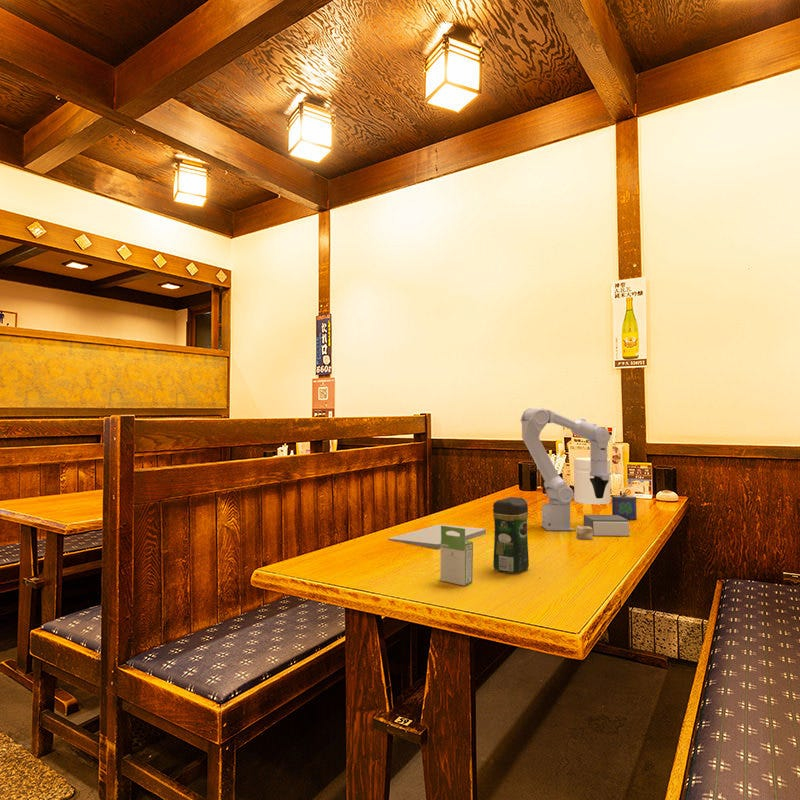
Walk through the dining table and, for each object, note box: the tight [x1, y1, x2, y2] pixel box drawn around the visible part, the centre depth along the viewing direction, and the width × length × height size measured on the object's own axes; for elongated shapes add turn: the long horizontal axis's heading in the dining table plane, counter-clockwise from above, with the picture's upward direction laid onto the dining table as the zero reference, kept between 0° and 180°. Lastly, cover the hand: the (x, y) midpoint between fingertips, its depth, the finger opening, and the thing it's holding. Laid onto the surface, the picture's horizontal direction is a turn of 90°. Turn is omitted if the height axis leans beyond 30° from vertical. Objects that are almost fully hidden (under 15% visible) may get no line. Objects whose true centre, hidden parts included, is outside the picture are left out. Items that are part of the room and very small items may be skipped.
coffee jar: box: [492, 496, 530, 574], centre depth 141 cm, size 10×8×19 cm
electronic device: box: [388, 524, 487, 550], centre depth 179 cm, size 29×20×2 cm
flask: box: [611, 491, 638, 521], centre depth 210 cm, size 9×3×11 cm, turn 88°
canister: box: [573, 457, 612, 506], centre depth 253 cm, size 16×16×20 cm
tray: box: [593, 521, 630, 537], centre depth 185 cm, size 12×9×4 cm
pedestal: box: [576, 525, 594, 541], centre depth 177 cm, size 4×4×4 cm
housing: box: [583, 514, 629, 529], centre depth 186 cm, size 12×9×5 cm
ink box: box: [439, 525, 474, 587], centre depth 130 cm, size 7×4×13 cm, turn 52°
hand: (599, 498), depth 195 cm, fingers closed
